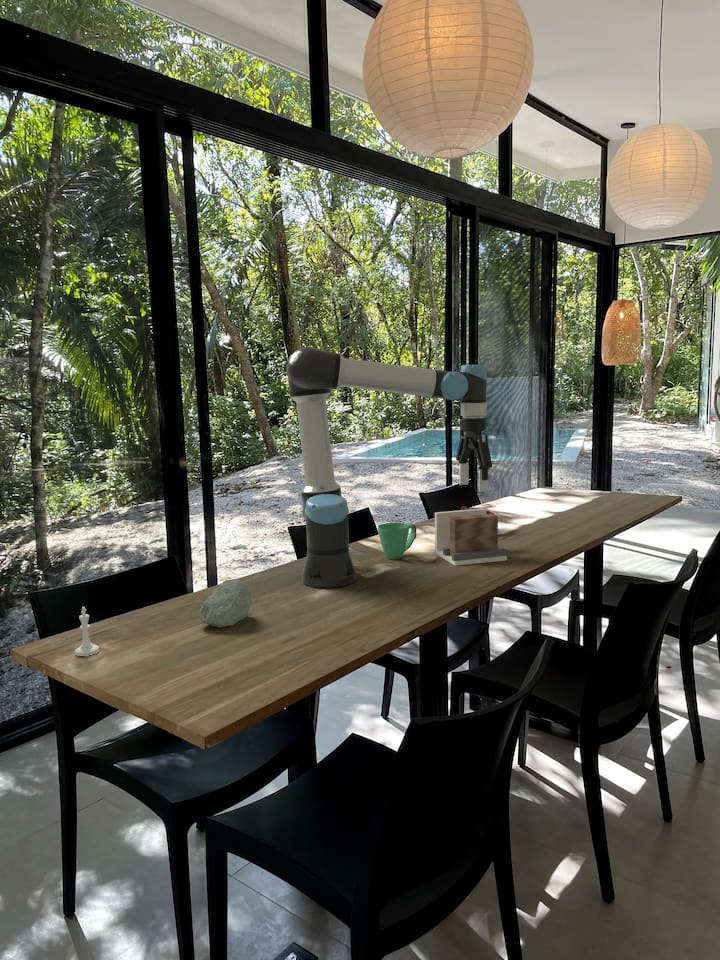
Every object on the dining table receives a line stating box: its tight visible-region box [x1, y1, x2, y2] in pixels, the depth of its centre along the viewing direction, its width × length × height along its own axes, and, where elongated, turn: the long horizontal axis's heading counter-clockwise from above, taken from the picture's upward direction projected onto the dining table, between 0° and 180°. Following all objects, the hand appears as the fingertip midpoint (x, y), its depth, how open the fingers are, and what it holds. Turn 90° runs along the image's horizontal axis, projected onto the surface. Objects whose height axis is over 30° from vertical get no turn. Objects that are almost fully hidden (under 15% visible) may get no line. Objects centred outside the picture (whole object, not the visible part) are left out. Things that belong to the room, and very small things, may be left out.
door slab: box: [450, 513, 499, 557], centre depth 217 cm, size 14×4×12 cm, turn 106°
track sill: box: [434, 508, 508, 567], centre depth 220 cm, size 17×16×13 cm
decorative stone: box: [198, 578, 253, 629], centre depth 168 cm, size 13×11×10 cm
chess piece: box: [74, 606, 100, 657], centre depth 151 cm, size 5×5×10 cm
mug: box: [377, 522, 417, 560], centre depth 223 cm, size 15×10×10 cm
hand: (473, 487), depth 215 cm, fingers open, 13 cm apart
